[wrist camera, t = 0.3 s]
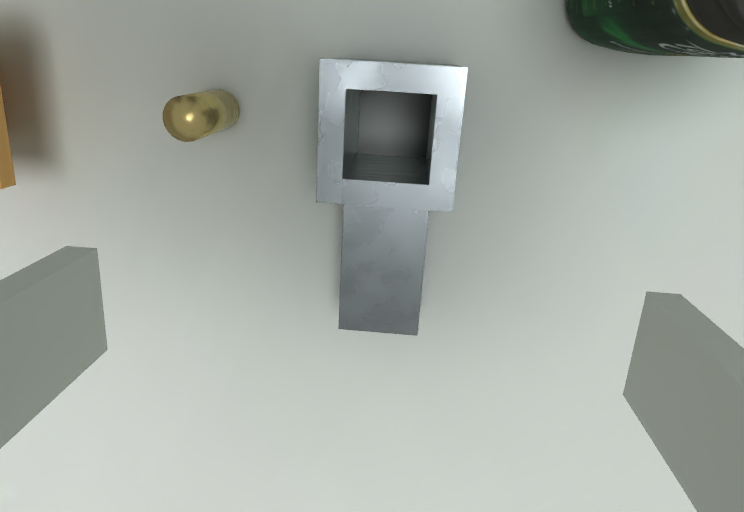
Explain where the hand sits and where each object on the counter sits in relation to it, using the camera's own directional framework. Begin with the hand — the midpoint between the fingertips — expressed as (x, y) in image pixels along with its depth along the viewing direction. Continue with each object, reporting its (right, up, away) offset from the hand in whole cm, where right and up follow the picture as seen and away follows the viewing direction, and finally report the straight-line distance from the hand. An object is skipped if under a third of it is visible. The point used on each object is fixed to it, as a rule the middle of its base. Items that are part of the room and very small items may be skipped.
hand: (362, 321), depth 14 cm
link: (+1, +6, +23) cm, 24 cm away
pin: (-9, +11, +22) cm, 27 cm away
